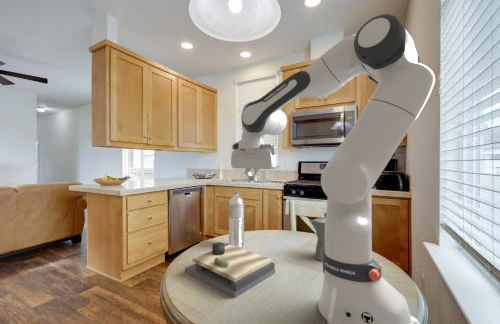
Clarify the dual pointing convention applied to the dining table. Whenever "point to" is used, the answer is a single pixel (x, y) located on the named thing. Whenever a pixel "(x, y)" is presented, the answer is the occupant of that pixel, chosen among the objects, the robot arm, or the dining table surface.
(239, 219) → the water bottle
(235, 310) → the dining table surface
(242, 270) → the plate
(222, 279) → the base
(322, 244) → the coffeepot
